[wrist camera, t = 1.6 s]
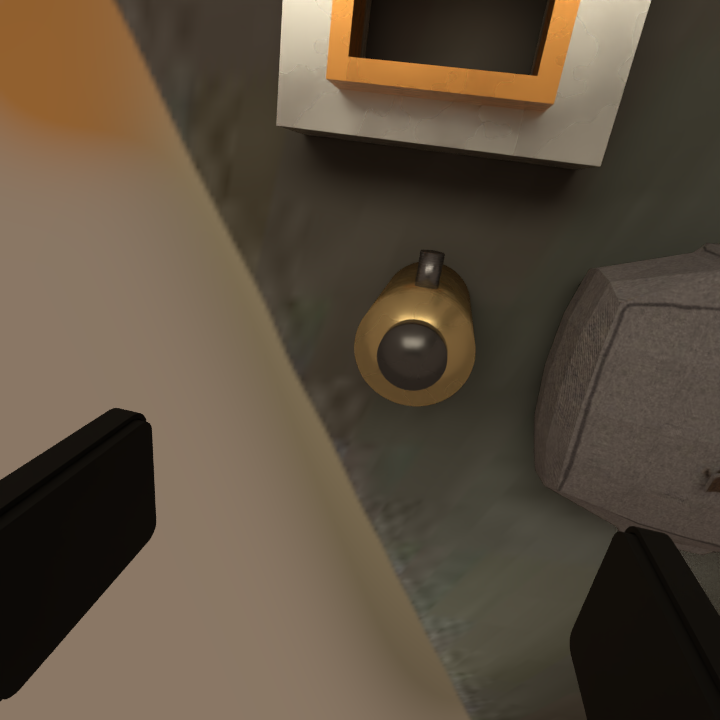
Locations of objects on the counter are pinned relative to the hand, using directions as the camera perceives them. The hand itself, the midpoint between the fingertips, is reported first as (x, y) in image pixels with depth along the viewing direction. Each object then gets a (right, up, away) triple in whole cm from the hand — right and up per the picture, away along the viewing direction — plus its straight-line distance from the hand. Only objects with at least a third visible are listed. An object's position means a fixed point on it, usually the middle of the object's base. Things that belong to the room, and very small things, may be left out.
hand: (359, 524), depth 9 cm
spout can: (+4, +7, +17) cm, 19 cm away
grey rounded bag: (+20, +2, +16) cm, 25 cm away
